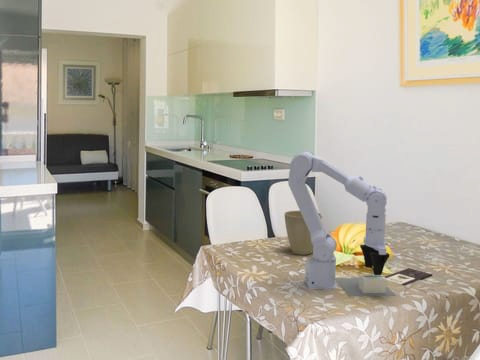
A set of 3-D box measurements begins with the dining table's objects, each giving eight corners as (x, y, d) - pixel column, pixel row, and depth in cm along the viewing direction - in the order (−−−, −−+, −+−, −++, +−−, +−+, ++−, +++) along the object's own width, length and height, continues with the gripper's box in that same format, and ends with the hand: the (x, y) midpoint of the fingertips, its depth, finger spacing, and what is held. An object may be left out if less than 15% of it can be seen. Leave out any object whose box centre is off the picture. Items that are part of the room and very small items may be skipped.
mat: (348, 297, 149) (348, 296, 148) (333, 279, 165) (333, 277, 165) (396, 297, 150) (396, 295, 150) (376, 278, 167) (376, 277, 167)
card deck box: (363, 293, 151) (364, 278, 151) (358, 287, 156) (359, 273, 156) (385, 292, 152) (386, 278, 151) (379, 287, 157) (380, 273, 156)
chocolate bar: (432, 274, 171) (404, 285, 159) (432, 276, 171) (404, 287, 159) (408, 268, 178) (380, 278, 166) (408, 270, 178) (380, 280, 166)
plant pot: (327, 255, 194) (329, 215, 192) (296, 259, 188) (297, 218, 186) (306, 246, 208) (308, 209, 205) (276, 249, 201) (277, 211, 199)
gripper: (397, 233, 145) (394, 278, 147) (379, 223, 159) (377, 263, 161) (374, 234, 144) (371, 278, 146) (358, 223, 159) (356, 264, 160)
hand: (373, 270), depth 153 cm, fingers open, 7 cm apart
